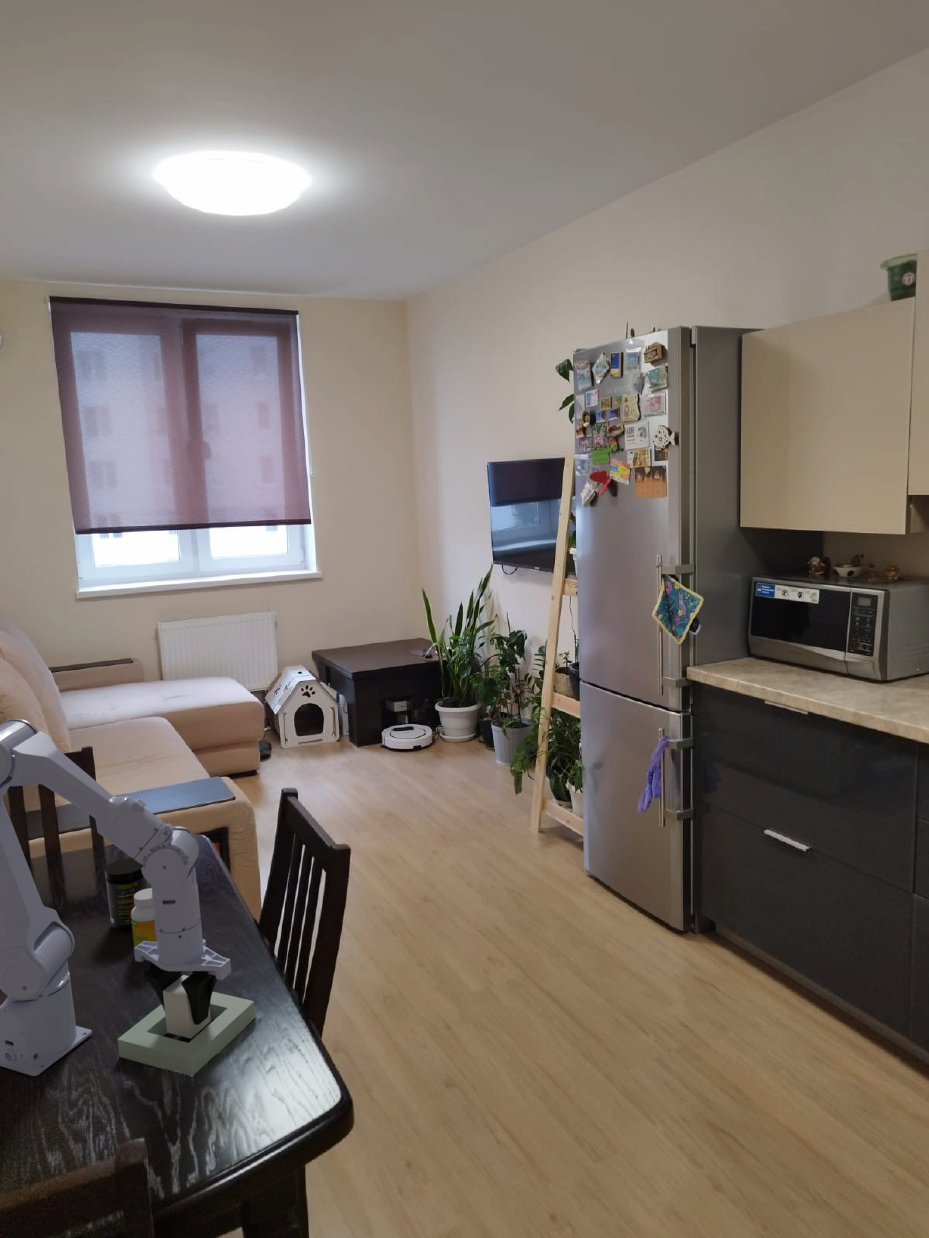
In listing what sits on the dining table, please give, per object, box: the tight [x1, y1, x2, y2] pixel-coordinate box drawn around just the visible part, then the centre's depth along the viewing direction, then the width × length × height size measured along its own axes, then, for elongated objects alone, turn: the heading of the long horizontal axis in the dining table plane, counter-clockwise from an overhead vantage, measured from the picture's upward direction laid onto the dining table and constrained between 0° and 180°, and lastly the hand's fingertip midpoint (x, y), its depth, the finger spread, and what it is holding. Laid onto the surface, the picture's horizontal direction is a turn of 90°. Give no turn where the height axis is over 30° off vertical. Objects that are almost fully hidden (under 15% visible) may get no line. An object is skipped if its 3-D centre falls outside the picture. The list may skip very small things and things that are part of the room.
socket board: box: [116, 991, 256, 1075], centre depth 117 cm, size 13×12×2 cm
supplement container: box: [104, 857, 149, 932], centre depth 148 cm, size 7×7×10 cm
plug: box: [163, 974, 212, 1040], centre depth 117 cm, size 5×4×6 cm
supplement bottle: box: [131, 888, 157, 948], centre depth 139 cm, size 5×5×10 cm
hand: (187, 1016), depth 117 cm, fingers closed on plug, 4 cm apart
